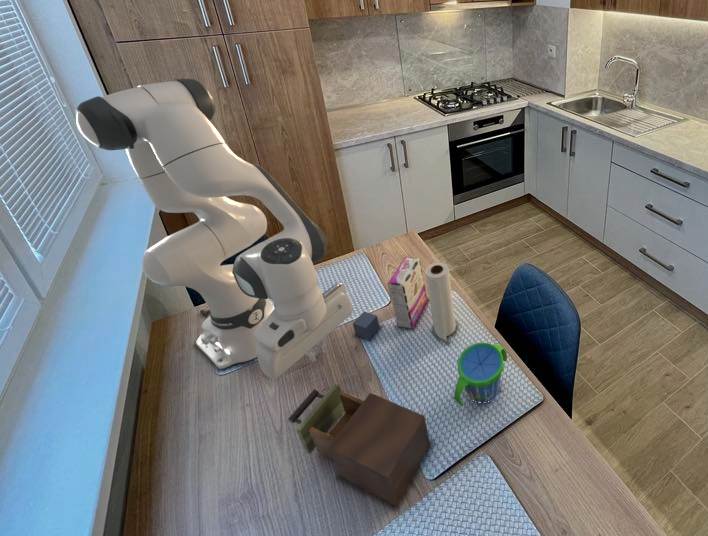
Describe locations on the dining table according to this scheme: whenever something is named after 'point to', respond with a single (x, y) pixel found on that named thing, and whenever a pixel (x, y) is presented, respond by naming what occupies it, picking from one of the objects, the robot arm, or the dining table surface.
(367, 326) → the block
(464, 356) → the snack cup
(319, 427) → the drawer
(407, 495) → the dining table surface
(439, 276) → the paper towel roll
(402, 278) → the candy bar box
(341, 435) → the cabinet
